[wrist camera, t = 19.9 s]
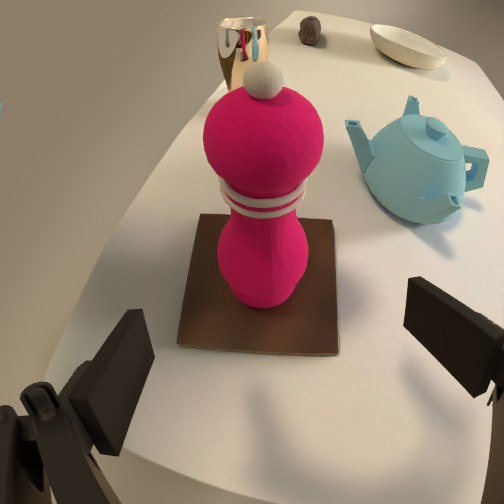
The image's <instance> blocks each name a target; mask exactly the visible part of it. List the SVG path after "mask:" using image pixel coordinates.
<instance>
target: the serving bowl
mask: <svg viewBox="0 0 504 504" xmlns="http://www.w3.org/2000/svg"><path fill="white" fill-rule="evenodd" d="M370 34H371V39H372V41H373V43H374V44H375V46H376V47H377V48H378V49H379V50H380V51H381V52H383V53H384V54H385V55H387V56H389V57H390V58H392V59H394V60H395V61H397V62H399V63H402V64H404V65H407V66H410V67H415V68H420V69H427V70H430V69H436V68H438V67H440V66H441V65H442V64H443V63H444V62H445V60H446V58H447V54H446V53H445V52H444V51H443V50H442V49H441V48H440V47H438V46H437V45H435V44H434V43H432V42H430V41H429V40H427V39H425V38H423V37H420V36H419V35H416V34H414V33H411V32H409V31H406V30H403V29H400V28H396V27H392V26H387V25H372V26H371V27H370Z"/></svg>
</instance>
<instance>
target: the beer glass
mask: <svg viewBox="0 0 504 504" xmlns="http://www.w3.org/2000/svg"><path fill="white" fill-rule="evenodd" d="M217 26H218V35H217V37H218V54H219V60H220V64H221V68H222V71H223V74H224V78H225V81H226V84H227V89H228V93H229V92H231V91H233V90H235V89H237V88H239V87H242V86H244V85H243V76H244V73H245V71H246V70H247V68H249V67H250V66H251V65H252V64H255V63H257V62H268V57H269V38H268V28H267V21H266V20H264V19H261V18H257V17H235V18H229V19H225V20H222V21H220V22H218V24H217Z"/></svg>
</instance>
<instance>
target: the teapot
mask: <svg viewBox="0 0 504 504" xmlns="http://www.w3.org/2000/svg"><path fill="white" fill-rule="evenodd" d="M418 104H419V102H418V99H417V98H416V97H413V96H410V95H409V97H408V100H407V104H406V107H405V110H404V113H403V116H402V117H400V118H398V119H397V120H395V121H393V122H392V123H390V124H388V125H387V126H385V127H384V128H383V129H382V130H380V131H379V132H378V133H377V134H376V135H375V136H374V138H373V139H372V140H371V141H370V140H368V139H367V137H366V135H365V133H364V131H363V129H362V128H361V126H360V123H359V121H354V120H345V124H346V129H347V131H348V134H349V137H350V140H351V142H352V145H353V148H354V151H355V154H356V156H357V159H358V162H359V165H360V168H361V171H362V173H363V176H364V179H365V181H366V183H367V185H368V187H369V189H370V190H371V192H372V193H373V195H374V196H375V197H376V199H377V200H378V201H379V202H380V203H381V204H382V205H383V206H384V207H385V208H386V209H387V210H389V211H390V212H391V213H393V214H394V215H396V216H398V217H400V218H402V219H405V220H407V221H411V222H415V223H421V224H436V223H441V222H444V221H446V220H447V219H449V218H451V217H452V216H453V215H454V213H455V212H456V211H457V210H459V209H460V208H461V206H460V203H461V200H462V198H463V194H464V192H467V191H470V190H474V189H477V188H481V187H483V184H484V180H485V176H486V172H487V168H488V164H489V158H488V156H487V153H486V151H485V150H482V149H478V148H473V147H468V146H463V145H461V144H460V142H459V140H458V139H457V138H456V136H455V135H454V134H453V133H452V132H451V131H450V130H449V129H448V128H447V126H446V125H445V124H444V123H443V122H442V121H440V120H438V119H436V118H433V117H425V116H422V115H419V105H418ZM465 163H472V167H471V170H469V171H466V168H465Z"/></svg>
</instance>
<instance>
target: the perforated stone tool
mask: <svg viewBox="0 0 504 504" xmlns="http://www.w3.org/2000/svg"><path fill="white" fill-rule="evenodd" d="M320 32H321V25H320V21H319V20H318V19H317V18H316V17H314V16H310V17H307V18H304V19H303V20H302V21H301V23H300V31H299V33H298V35H299V38H300V40H301V41H302V42H303V43H305V44H311V45H313V44H315V43H316V42H317V40H318V38H319V36H320Z"/></svg>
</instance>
